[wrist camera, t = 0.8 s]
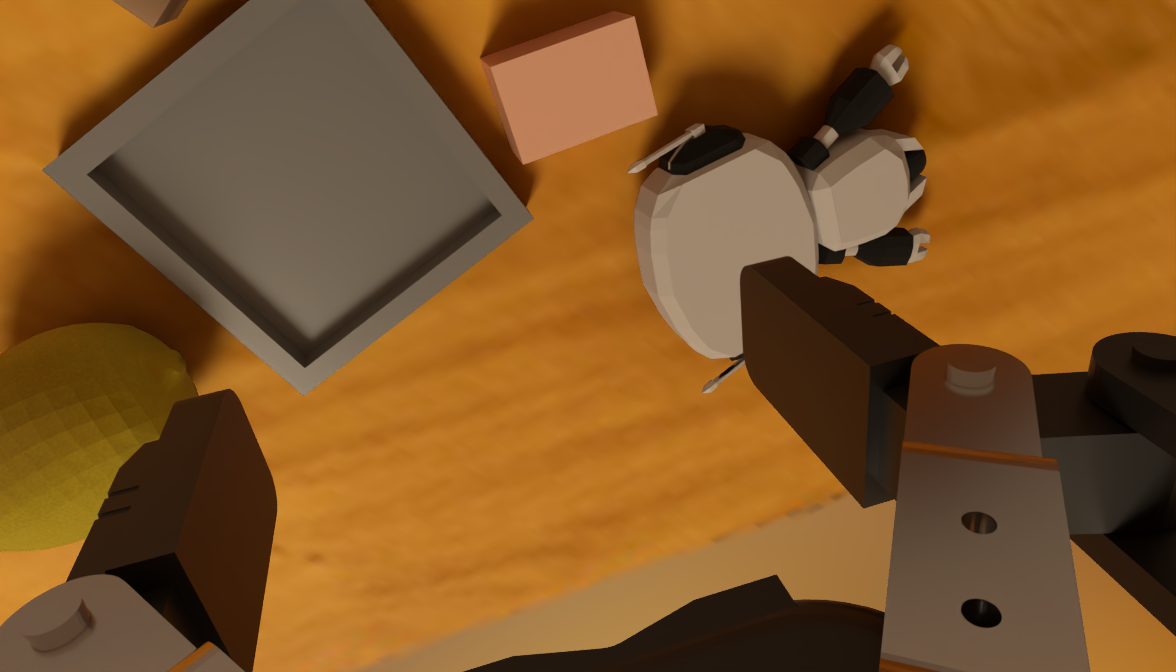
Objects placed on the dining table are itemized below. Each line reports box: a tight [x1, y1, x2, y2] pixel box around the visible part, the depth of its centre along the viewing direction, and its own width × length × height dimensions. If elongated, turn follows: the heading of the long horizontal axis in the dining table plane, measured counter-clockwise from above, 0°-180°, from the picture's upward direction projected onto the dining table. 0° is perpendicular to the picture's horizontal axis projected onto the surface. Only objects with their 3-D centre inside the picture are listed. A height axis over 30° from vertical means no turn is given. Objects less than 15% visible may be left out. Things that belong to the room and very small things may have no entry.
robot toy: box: [627, 45, 930, 393], centre depth 37 cm, size 12×4×15 cm
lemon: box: [0, 323, 199, 552], centre depth 30 cm, size 11×8×8 cm
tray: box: [42, 0, 534, 396], centre depth 32 cm, size 13×13×2 cm
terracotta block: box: [480, 11, 658, 165], centre depth 32 cm, size 6×4×3 cm, turn 107°
